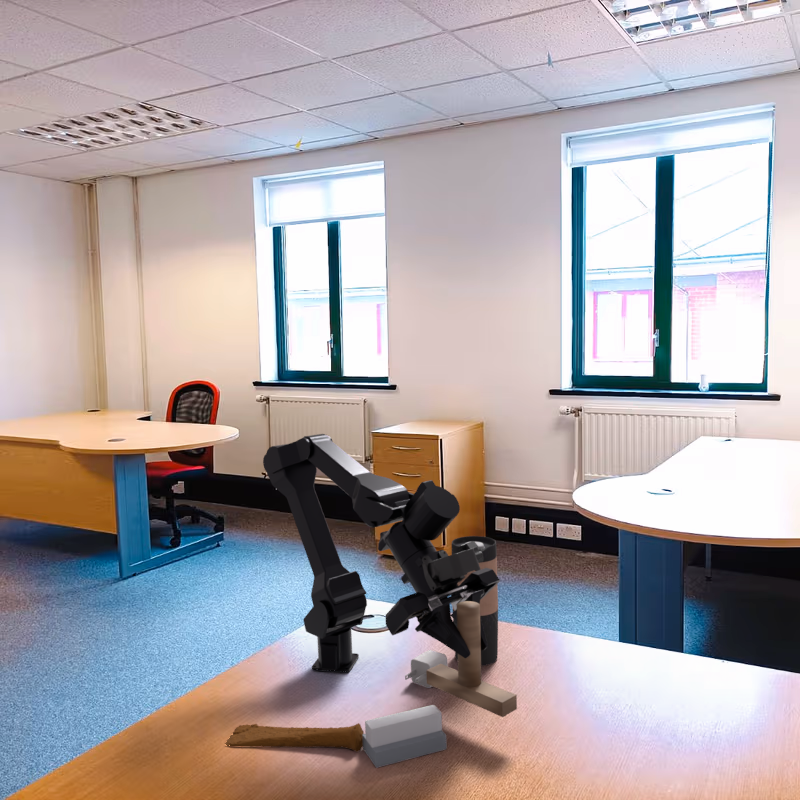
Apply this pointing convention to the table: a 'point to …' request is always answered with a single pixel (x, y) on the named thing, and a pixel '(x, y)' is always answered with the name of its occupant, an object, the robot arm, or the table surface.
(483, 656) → the travel mug
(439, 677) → the t bar
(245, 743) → the primitive tool
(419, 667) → the usb wall charger
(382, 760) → the ridge block
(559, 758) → the table surface
